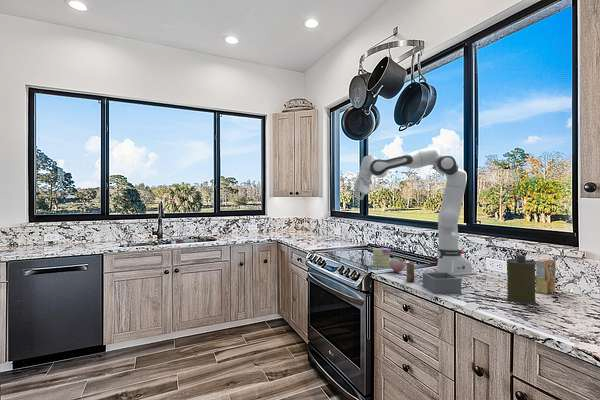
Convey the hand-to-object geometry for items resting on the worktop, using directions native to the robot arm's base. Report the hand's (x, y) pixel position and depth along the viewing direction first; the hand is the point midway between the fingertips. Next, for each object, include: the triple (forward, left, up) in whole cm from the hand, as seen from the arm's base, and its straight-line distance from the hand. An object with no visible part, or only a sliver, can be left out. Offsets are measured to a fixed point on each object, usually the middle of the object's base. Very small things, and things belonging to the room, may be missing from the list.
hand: (358, 198), depth 207 cm
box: (-15, -1, -46) cm, 48 cm away
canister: (-55, +73, -46) cm, 102 cm away
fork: (-39, -1, -46) cm, 61 cm away
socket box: (-28, +55, -46) cm, 77 cm away
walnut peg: (-19, +39, -46) cm, 63 cm away
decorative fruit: (-19, +18, -46) cm, 53 cm away
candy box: (-76, +62, -46) cm, 108 cm away
